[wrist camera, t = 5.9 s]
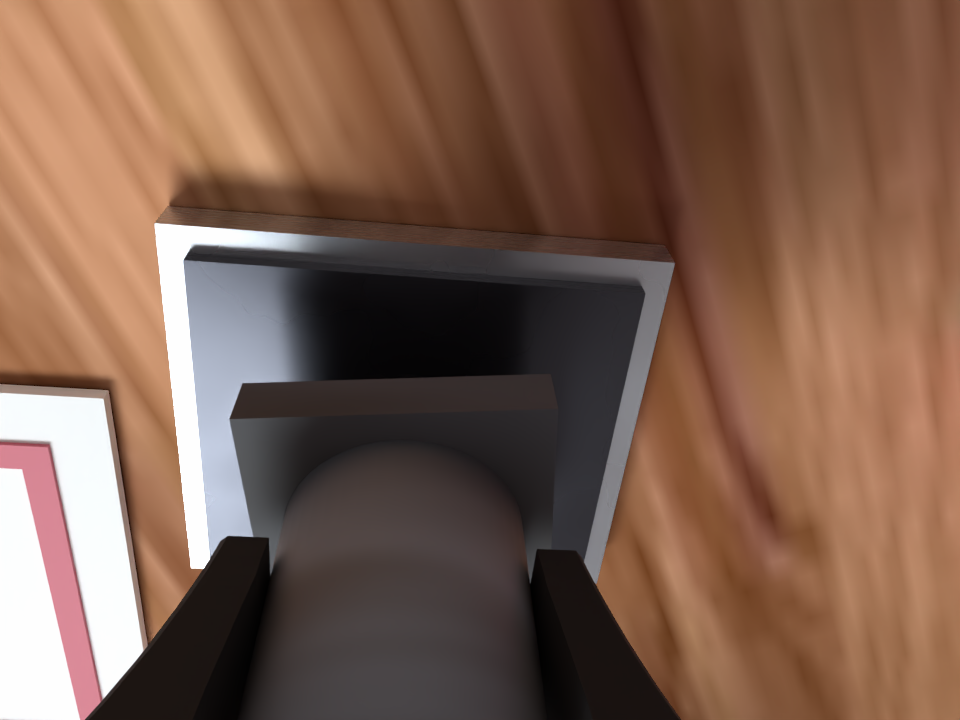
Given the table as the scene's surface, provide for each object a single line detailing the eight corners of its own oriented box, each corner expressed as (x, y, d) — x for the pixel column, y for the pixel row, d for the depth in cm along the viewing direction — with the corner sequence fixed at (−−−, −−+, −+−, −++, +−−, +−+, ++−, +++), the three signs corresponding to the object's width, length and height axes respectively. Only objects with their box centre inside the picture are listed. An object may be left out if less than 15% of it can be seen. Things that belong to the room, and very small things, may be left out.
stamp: (541, 590, 16) (589, 930, 11) (283, 599, 16) (210, 951, 11) (550, 374, 14) (619, 689, 8) (242, 382, 13) (121, 712, 8)
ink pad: (590, 558, 20) (598, 593, 19) (199, 542, 19) (187, 577, 18) (664, 244, 15) (679, 270, 14) (167, 206, 15) (149, 230, 14)
